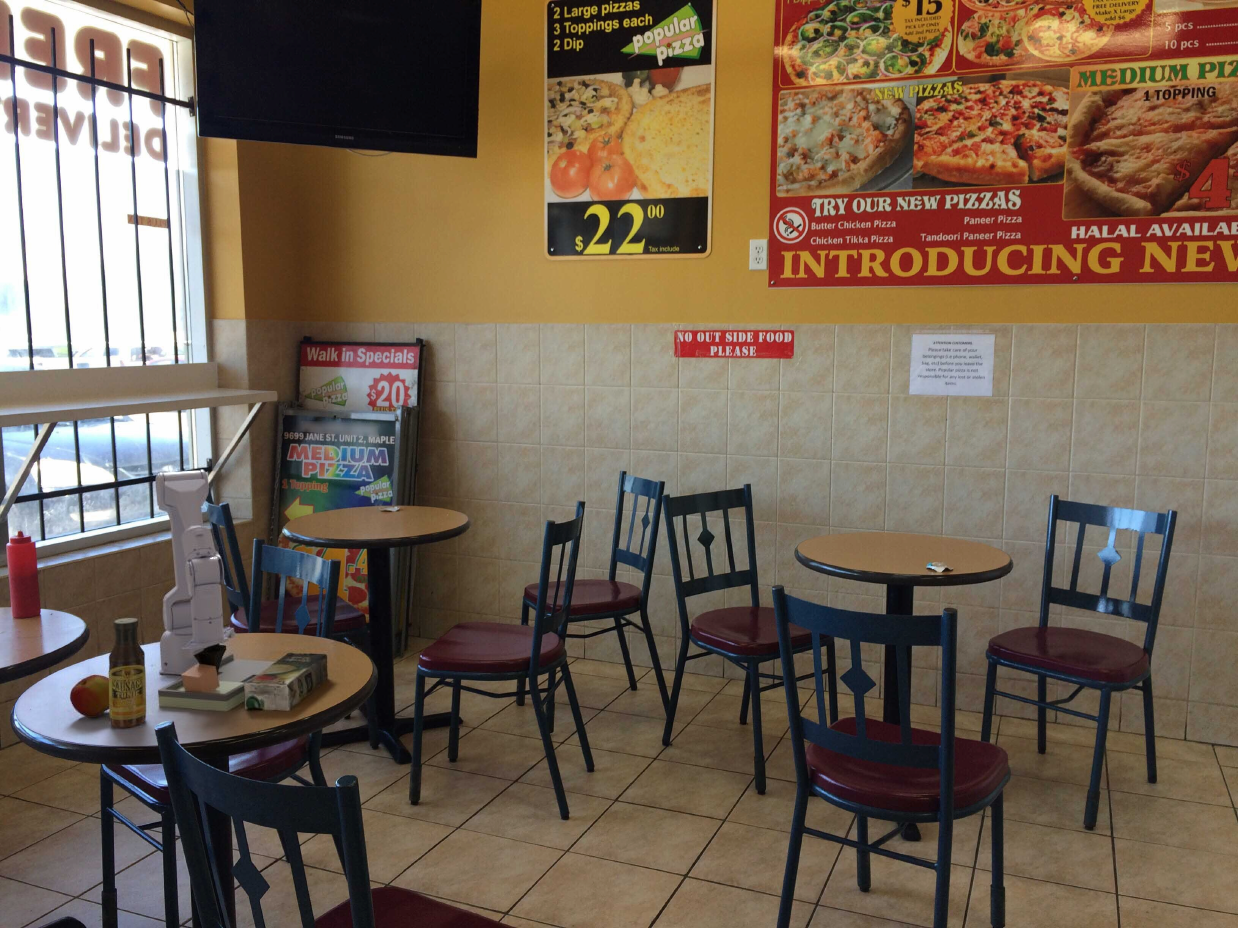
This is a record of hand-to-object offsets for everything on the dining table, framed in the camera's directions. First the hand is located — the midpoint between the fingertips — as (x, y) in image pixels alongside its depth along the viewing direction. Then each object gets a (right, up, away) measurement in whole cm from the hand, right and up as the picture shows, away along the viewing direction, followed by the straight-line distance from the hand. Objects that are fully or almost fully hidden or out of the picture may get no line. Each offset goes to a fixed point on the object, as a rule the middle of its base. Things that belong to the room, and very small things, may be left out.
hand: (211, 681), depth 199 cm
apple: (-18, -5, -9) cm, 21 cm away
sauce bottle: (-10, -5, -13) cm, 17 cm away
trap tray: (+1, -3, +6) cm, 7 cm away
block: (-1, -1, -2) cm, 3 cm away
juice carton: (+14, -4, +3) cm, 15 cm away
